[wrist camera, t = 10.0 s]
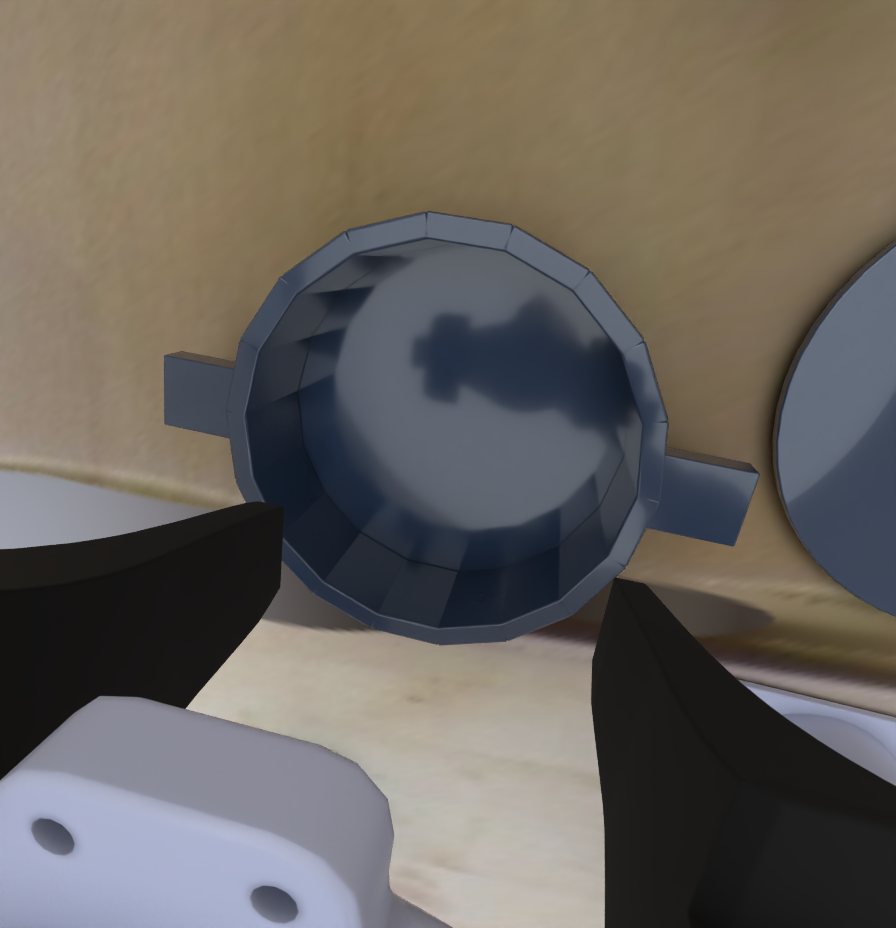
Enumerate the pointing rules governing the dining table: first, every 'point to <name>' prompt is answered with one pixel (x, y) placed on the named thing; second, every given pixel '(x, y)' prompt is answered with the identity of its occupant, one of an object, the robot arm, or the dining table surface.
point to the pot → (453, 430)
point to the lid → (845, 436)
